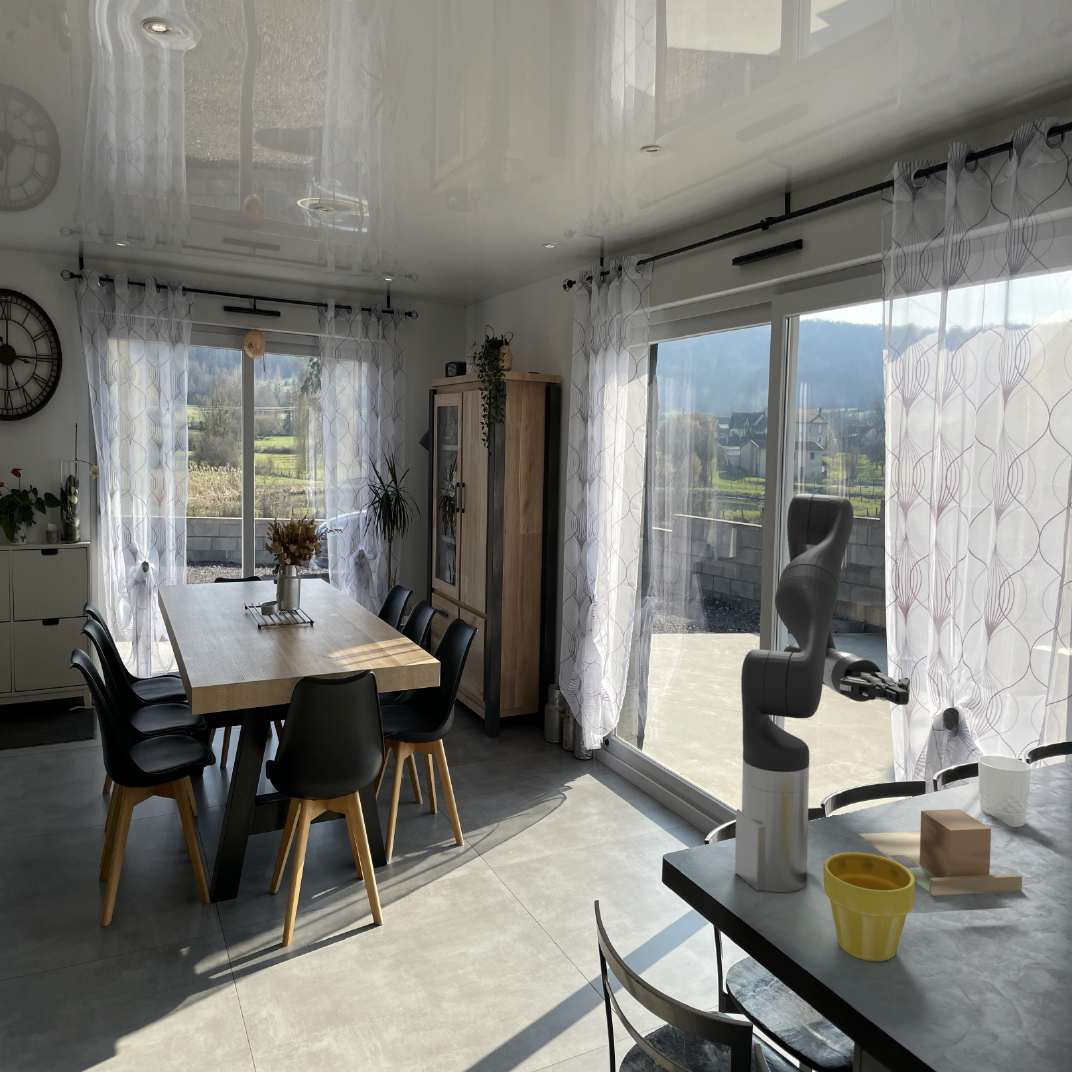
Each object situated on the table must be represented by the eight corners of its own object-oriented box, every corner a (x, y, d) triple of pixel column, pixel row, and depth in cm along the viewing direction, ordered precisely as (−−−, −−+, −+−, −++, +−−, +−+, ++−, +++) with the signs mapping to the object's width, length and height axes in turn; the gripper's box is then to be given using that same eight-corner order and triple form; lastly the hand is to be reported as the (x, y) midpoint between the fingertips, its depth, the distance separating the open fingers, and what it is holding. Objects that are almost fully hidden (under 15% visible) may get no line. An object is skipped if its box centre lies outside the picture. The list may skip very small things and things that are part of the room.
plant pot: (872, 981, 93) (874, 898, 92) (804, 937, 102) (805, 861, 101) (931, 957, 98) (934, 878, 97) (861, 917, 107) (863, 845, 106)
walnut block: (919, 863, 119) (921, 810, 119) (957, 862, 120) (959, 809, 119) (948, 886, 112) (950, 830, 112) (989, 884, 113) (991, 828, 112)
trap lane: (858, 843, 130) (858, 821, 130) (934, 839, 131) (935, 818, 131) (932, 905, 110) (933, 880, 110) (1021, 901, 111) (1022, 876, 111)
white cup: (1039, 829, 135) (1041, 770, 135) (991, 829, 135) (993, 770, 135) (1012, 811, 143) (1014, 755, 143) (967, 810, 143) (969, 755, 143)
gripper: (815, 655, 145) (865, 675, 127) (885, 654, 146) (943, 674, 129) (814, 696, 145) (863, 722, 128) (884, 695, 146) (942, 721, 129)
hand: (904, 698), depth 128 cm, fingers closed
